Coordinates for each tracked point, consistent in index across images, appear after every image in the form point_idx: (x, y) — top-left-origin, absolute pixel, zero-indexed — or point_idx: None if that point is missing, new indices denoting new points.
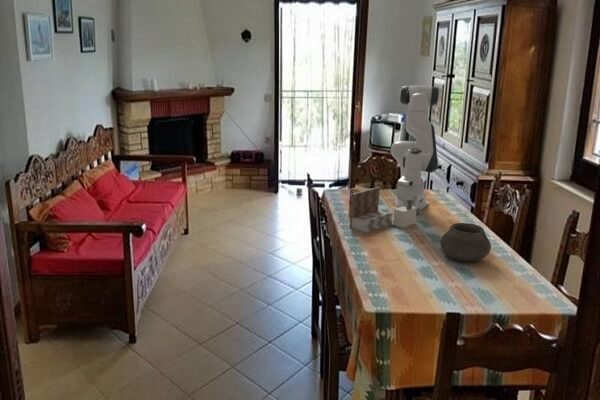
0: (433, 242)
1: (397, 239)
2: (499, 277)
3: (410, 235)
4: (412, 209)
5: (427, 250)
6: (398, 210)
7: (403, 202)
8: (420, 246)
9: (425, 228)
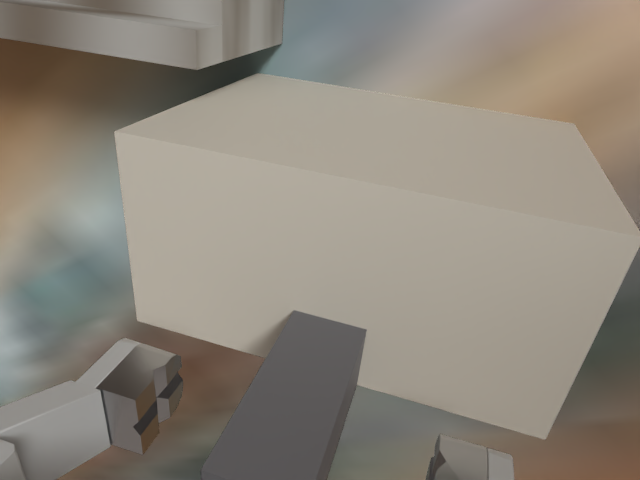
0: (169, 468)
1: (4, 273)
2: None
3: (147, 326)
4: (391, 385)
5: None
6: (130, 218)
7: (49, 399)
8: None
9: None
